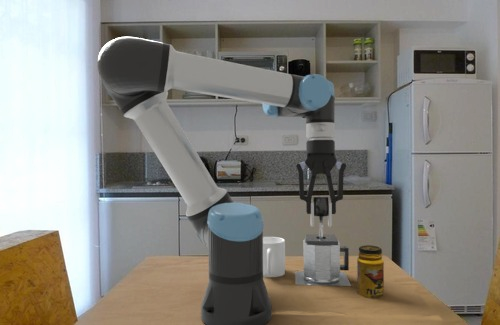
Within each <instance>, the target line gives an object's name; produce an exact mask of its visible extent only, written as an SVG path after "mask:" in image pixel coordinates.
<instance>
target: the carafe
mask: <svg viewBox="0 0 500 325" xmlns="http://www.w3.org/2000/svg"><path fill="white" fill-rule="evenodd" d="M302 242H303V246H302V247H303V248H302V249H303V271H304V279H305V280H306V281H308V282H311V283H315V284H333V283H336V282H338V281H339V280H340V272H341V271H349V269H350V267H349V263H350V261H349V260H350V259H349V256H350V255H349V247H348V246H346V245H345V246H341V243H340V241H339V240H338V238H337V237H336V235H335V234H324V233H323V239H319V233H318V234H317V233H316V234H315V233H314V234H313V233H311V234H310V233H308V234H307V233H306V234H305V238H304V239H303V241H302ZM341 253H343V264H341Z"/></svg>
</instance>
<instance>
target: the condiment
mask: <svg viewBox="0 0 500 325" xmlns="http://www.w3.org/2000/svg"><path fill="white" fill-rule="evenodd" d="M382 252H383V250H382V248H381V247H379V246H375V245H369V244H367V245H361V246H359V247H358V258H357V260H356V262H357V263H356V264H357V266H356V268H357V269H356V270H357V277H356V278H357V279H356V280H357V284H356V285H357V292H356V293H357V295H359V296H361V297H362V298H363V297H364V298H367V299H381V298H383V297H384V295H385V294H384V293H385V286H384V284H385V280H384V279H385V277H384V276H385V275H384V270H385V269H384V267H385V266H384V265H385V262H384V259H383V253H382Z"/></svg>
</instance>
